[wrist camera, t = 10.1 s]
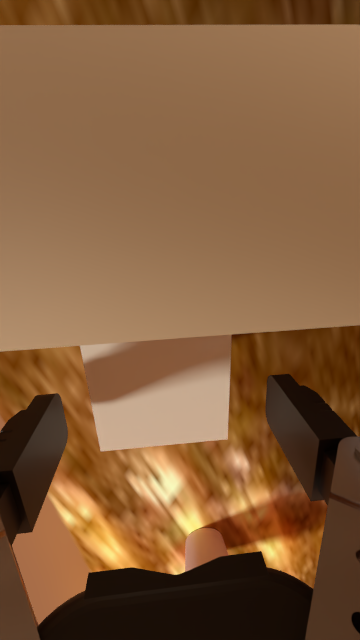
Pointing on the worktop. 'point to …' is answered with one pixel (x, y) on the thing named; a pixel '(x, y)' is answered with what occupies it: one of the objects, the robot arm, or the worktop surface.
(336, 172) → the cleat board
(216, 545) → the smoothie
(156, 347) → the wall box
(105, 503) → the worktop surface
